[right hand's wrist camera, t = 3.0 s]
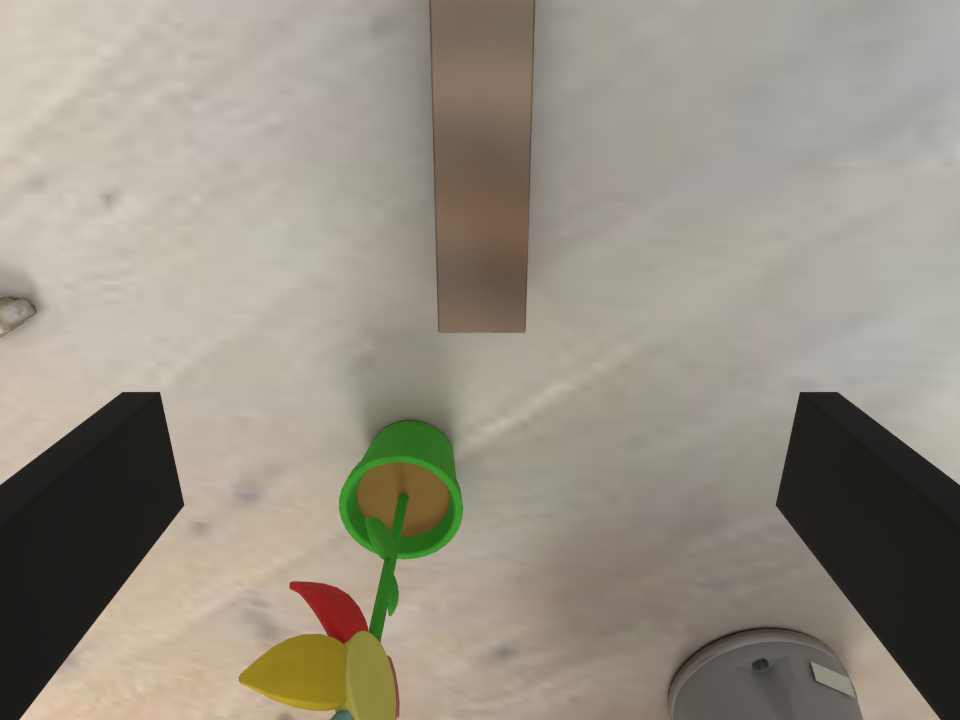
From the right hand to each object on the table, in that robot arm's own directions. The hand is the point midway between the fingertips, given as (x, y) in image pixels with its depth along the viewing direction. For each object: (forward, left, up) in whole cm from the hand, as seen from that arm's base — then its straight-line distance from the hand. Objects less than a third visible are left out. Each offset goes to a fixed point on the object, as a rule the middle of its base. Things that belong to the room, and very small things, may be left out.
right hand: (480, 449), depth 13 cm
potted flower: (-17, -4, -28) cm, 33 cm away
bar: (+9, +5, -28) cm, 29 cm away
